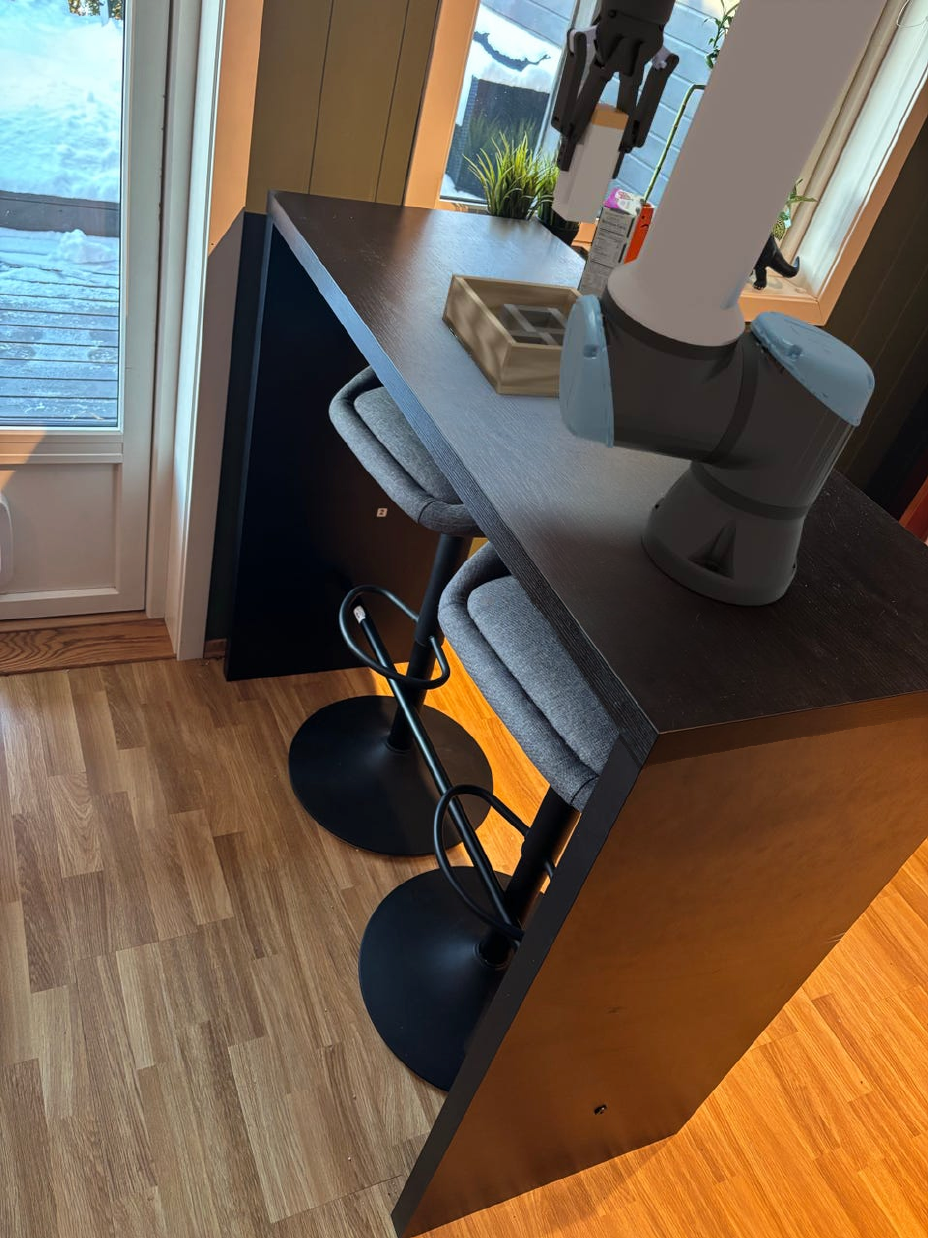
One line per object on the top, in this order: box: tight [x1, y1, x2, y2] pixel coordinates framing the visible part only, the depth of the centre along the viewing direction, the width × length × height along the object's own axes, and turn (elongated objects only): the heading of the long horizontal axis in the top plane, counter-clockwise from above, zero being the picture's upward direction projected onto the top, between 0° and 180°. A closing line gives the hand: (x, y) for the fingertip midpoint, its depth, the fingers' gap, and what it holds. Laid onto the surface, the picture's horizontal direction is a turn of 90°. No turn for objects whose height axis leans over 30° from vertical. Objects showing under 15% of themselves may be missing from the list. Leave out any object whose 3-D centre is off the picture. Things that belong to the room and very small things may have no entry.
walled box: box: [441, 273, 583, 398], centre depth 120 cm, size 20×18×6 cm
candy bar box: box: [576, 187, 646, 298], centre depth 135 cm, size 11×5×16 cm, turn 164°
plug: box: [551, 102, 629, 225], centre depth 110 cm, size 4×4×12 cm
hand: (577, 201), depth 113 cm, fingers closed on plug, 4 cm apart
